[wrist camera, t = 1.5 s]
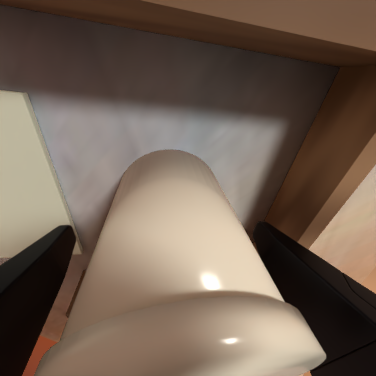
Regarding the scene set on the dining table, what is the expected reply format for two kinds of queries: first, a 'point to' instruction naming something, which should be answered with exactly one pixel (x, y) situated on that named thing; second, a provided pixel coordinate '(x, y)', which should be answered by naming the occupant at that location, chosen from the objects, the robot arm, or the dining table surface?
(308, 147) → the cradle
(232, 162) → the dining table surface
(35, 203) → the pad
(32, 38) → the dining table surface
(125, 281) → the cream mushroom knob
